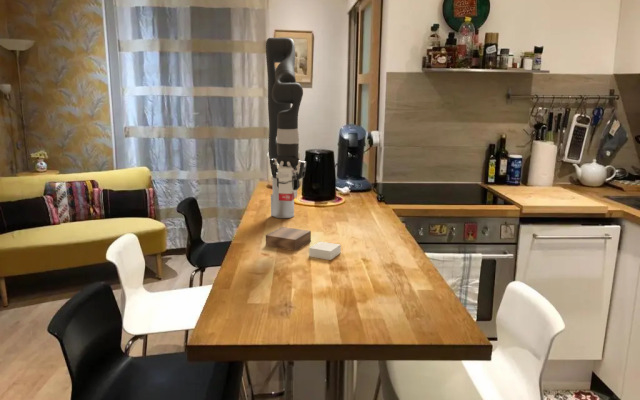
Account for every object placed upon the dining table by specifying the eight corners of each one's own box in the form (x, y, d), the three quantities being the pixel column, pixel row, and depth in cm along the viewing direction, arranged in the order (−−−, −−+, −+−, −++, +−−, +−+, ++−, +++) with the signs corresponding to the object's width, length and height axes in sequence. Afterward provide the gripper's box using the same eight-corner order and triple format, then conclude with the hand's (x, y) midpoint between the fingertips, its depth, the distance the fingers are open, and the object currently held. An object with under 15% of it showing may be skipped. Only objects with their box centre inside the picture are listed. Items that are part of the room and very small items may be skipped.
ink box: (291, 201, 179) (291, 168, 176) (278, 201, 180) (277, 167, 177) (297, 196, 187) (297, 164, 185) (284, 195, 188) (284, 163, 186)
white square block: (309, 256, 174) (309, 247, 173) (319, 249, 181) (319, 241, 180) (330, 259, 171) (330, 251, 170) (340, 252, 178) (340, 244, 177)
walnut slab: (265, 245, 185) (265, 235, 184) (282, 236, 195) (282, 226, 194) (295, 250, 180) (295, 239, 179) (310, 241, 190) (310, 230, 189)
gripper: (264, 141, 179) (265, 189, 183) (301, 144, 173) (301, 193, 177) (275, 139, 185) (276, 185, 189) (311, 141, 179) (311, 189, 183)
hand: (288, 188), depth 183 cm, fingers closed on ink box, 5 cm apart
